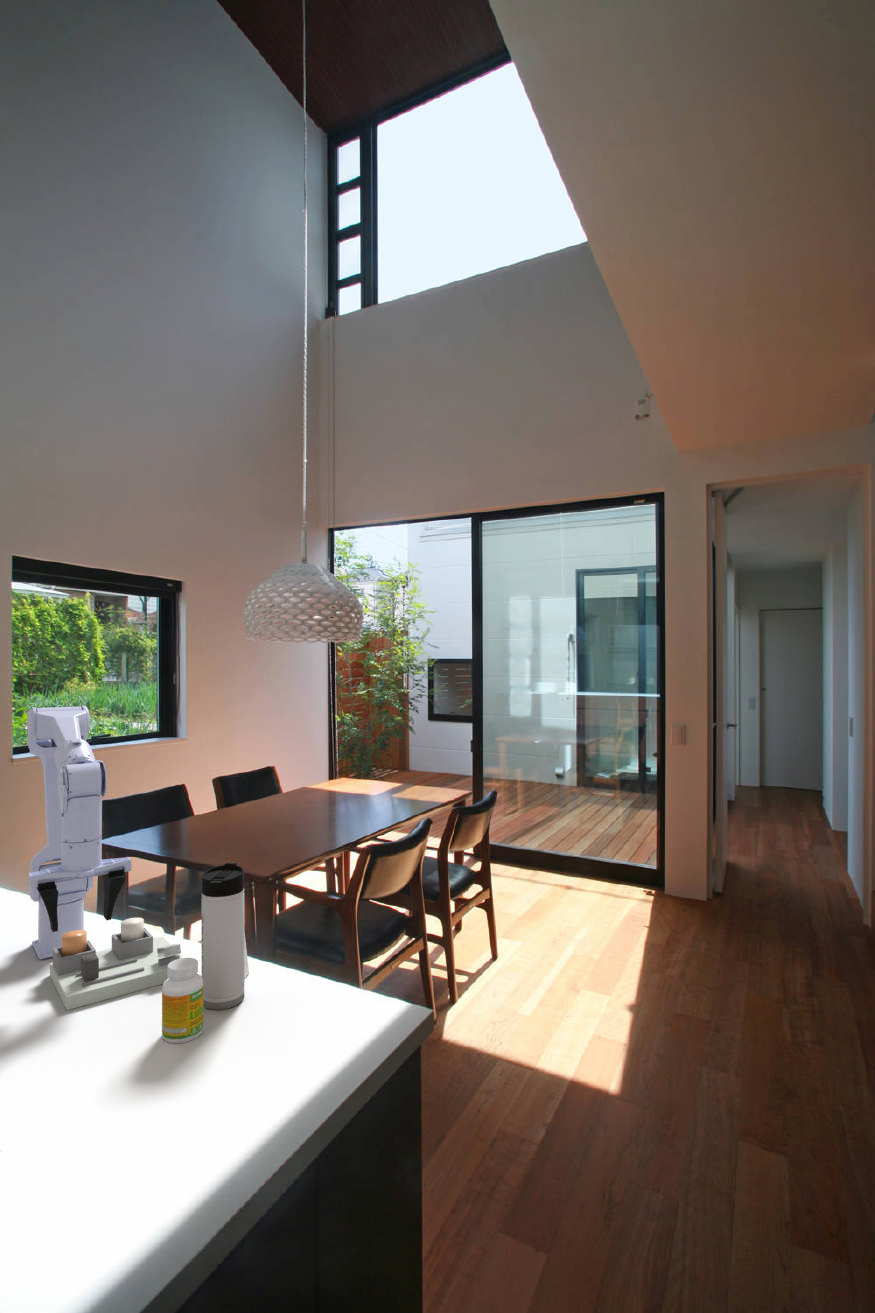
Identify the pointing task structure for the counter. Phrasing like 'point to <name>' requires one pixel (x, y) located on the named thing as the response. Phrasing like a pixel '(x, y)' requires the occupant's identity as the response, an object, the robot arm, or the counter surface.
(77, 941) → the button orange
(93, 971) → the slider knob
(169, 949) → the rocker
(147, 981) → the panel
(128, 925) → the button white
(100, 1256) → the counter surface
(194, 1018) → the supplement bottle
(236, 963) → the travel mug
